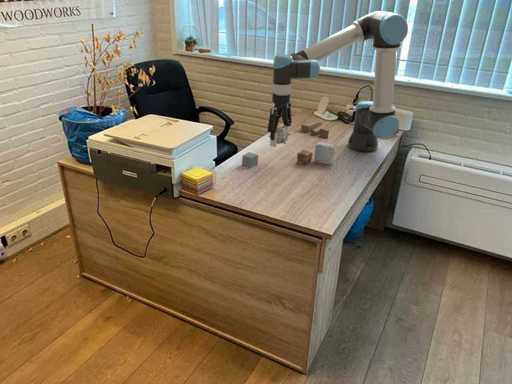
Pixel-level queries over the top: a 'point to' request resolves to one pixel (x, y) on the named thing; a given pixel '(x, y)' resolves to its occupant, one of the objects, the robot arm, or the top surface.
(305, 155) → the walnut cube
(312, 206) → the top surface
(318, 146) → the medicine box
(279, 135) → the game die
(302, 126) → the wooden block set
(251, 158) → the slate grey cube
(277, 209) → the top surface
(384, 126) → the robot arm
